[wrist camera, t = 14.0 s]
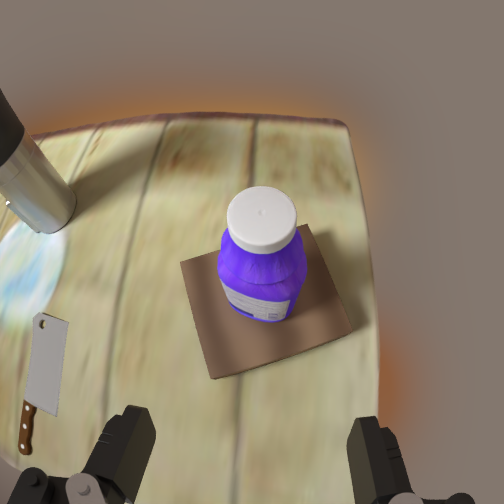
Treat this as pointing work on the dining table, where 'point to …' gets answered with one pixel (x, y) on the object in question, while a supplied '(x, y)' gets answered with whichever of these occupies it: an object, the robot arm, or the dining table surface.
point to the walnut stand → (257, 332)
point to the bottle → (262, 255)
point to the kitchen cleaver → (43, 374)
